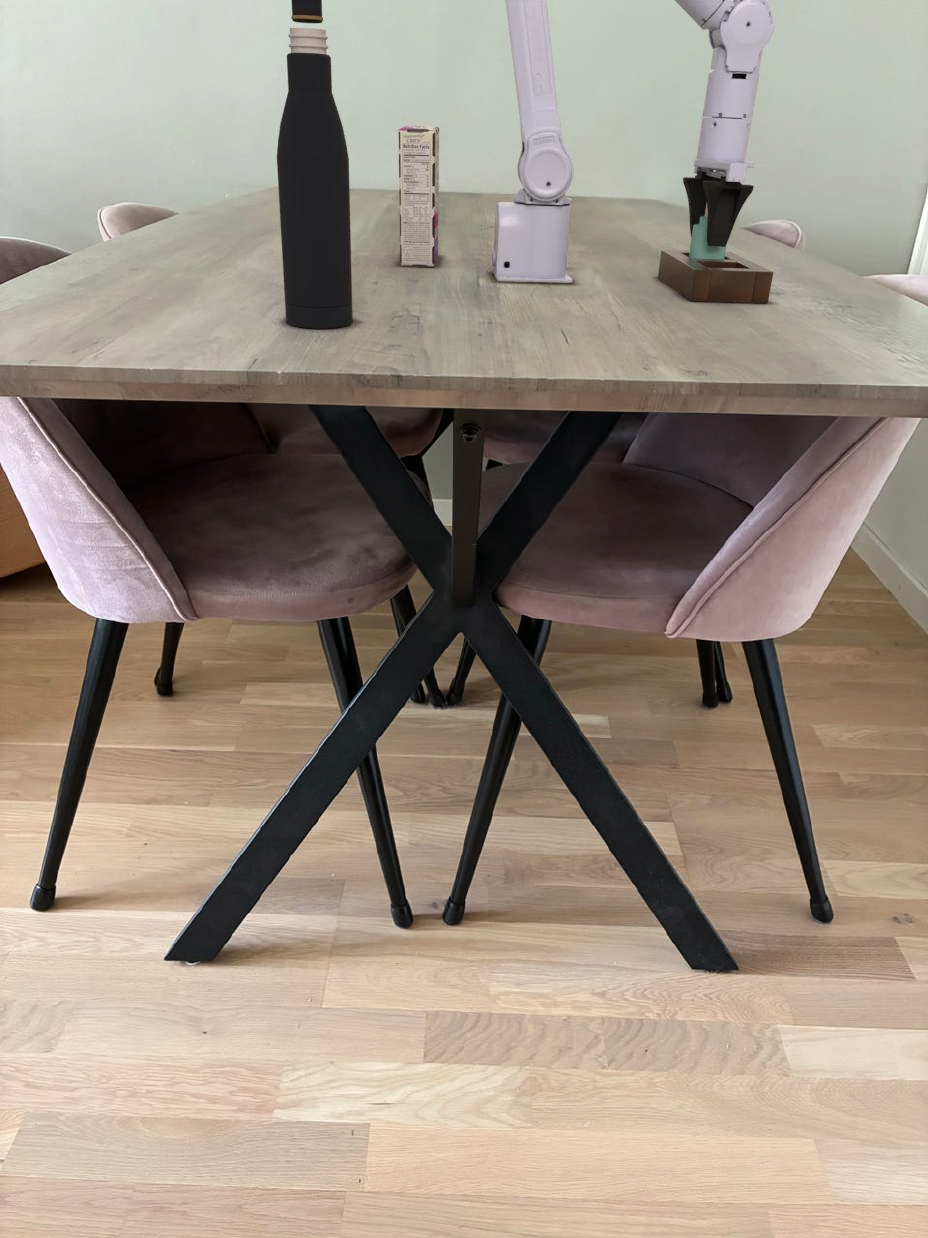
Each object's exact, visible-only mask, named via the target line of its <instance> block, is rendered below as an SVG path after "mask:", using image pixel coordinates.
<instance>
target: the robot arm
mask: <svg viewBox="0 0 928 1238" xmlns="http://www.w3.org/2000/svg"><path fill="white" fill-rule="evenodd" d="M547 1H548V0H505V1H504V2H505V9H506V16H507V26H508V33H509V34H508V35H509V40H510V50H511V58H512V65H513V74H514V83H515V90H516V99H517V106H518V108H517V109H518V115H519V128H520V139H521V151H520V154H519V158H518V161H517V177H518V179H519V181H520V184H521V185H522V188H520V190H519V191H518V192H516V193H514V194H513V198H512V200H513V201H499V202H496V206H495V213H494V214H495V215H494V228H493V229H494V231H493V232H494V233H493V250H492V251H491V266H492V268H491V272H492V274H493V275H494V278H495V280H496V281H497V282H517V283H520V282H521V283H553V284H572V283H573V282H574V281H573V278H572V277H571V276H570V274H569V273H567V266H568V265H567V263H568V252H569V240H570V227H571V218H572V217H571V215H572V206H573V205H572V202H573V199H572V198H570V197H568V196H567V194H566V193H567V191H568V190H569V189H570V187H571V185H572V182H573V180H574V174H575V172H574V171H575V168H574V166H575V165H574V162H573V159H572V156H571V155H570V153H569V151H568V149H567V148H566V146H565V143H564V140H563V134H562V133H563V131H562V126H561V119H560V114H559V107H558V98H557V97H558V96H557V89H556V80H555V70H554V69H555V68H554V60H553V52H552V51H553V50H552V41H551V30H550V19H549V12H548V2H547ZM674 2H675V3H677V5H678V6H680V8H681V9H682V10H683V11H684V12H685V13H686V14H687V15H688V16H689V17H690V18H691V19H692V21H693V22H695V24H697V26H699V28H700V29H701V30H703V31H705V30H707V32H708V40H709V44H710V47H711V48H712V49H713V50H712V57H711V64H710V69H709V72H708V74H707V84H706V90H705V98H704V104H703V111H702V117H701V123H700V124H701V125H700V129H699V130H700V131H699V137H698V138H699V139H698V144H697V152H696V157H695V158H694V161H693V166H694V170H693V174H695V176H694V177H692V176H691V177H688V176H685V177H683V178H682V182H683V186H684V190H685V192H686V196H687V197H686V198H687V202H688V212H689V231H690V238H692V231H693V225H694V224H699V223H700V217H701V216H705V210H706V204H707V210H708V220H707V244H708V246H718V247H725V246H726V244H727V245H728V242H729V239H730V237H731V234H732V232H733V228H734V226H735V224H736V221H737V219H738V216H739V214H740V212H741V210H742V208H743V206H744V204H745V203H746V201H747V200H748V198H749V197H750V195H752V193H753V191H754V187H755V186H754V185H752V184H742V183H745V181H746V176H747V171H748V168H749V169H754V168H755V161H753V160H746V157H747V151H748V144H749V138H750V133H751V127H752V122H753V116H754V115H753V114H754V111H755V103H756V97H757V92H758V86H759V80H760V68H761V64H762V63H761V61H762V57H763V49H764V48H765V47H766V46H767V45H768V44H769V42H770V40H771V39H772V37H773V35H774V31H775V27H776V25H775V24H774V23H773V15H772V9H771V7H770V5H769V3H768V2H767V1H766V0H674ZM726 247H727V246H726Z"/></svg>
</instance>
